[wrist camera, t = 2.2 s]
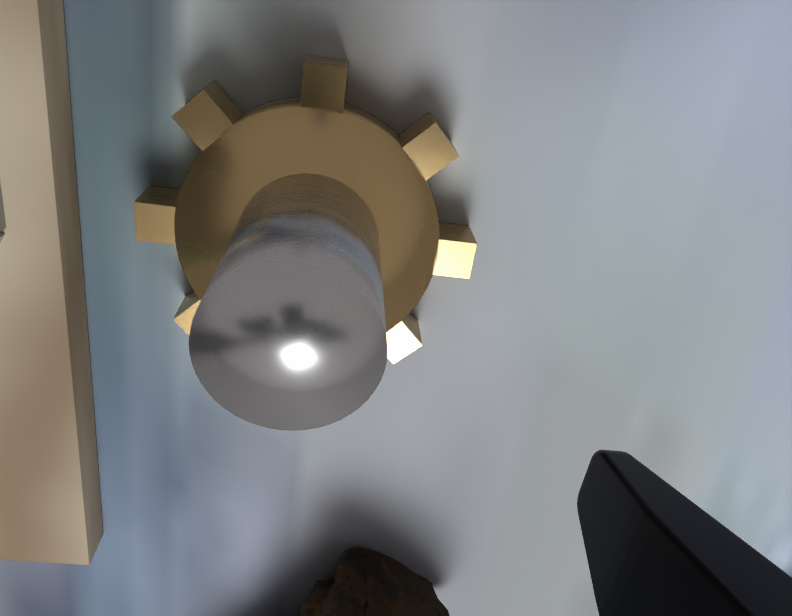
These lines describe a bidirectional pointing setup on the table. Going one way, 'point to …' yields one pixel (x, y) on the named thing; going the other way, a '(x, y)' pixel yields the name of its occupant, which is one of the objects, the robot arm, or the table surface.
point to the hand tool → (372, 589)
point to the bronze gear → (303, 247)
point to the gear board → (42, 303)
